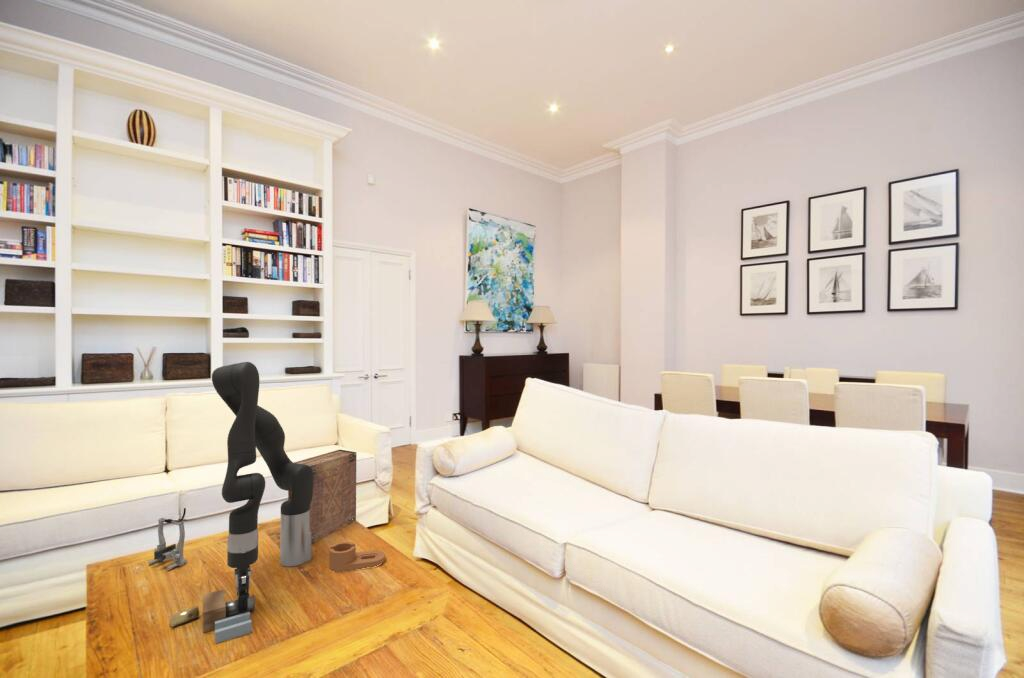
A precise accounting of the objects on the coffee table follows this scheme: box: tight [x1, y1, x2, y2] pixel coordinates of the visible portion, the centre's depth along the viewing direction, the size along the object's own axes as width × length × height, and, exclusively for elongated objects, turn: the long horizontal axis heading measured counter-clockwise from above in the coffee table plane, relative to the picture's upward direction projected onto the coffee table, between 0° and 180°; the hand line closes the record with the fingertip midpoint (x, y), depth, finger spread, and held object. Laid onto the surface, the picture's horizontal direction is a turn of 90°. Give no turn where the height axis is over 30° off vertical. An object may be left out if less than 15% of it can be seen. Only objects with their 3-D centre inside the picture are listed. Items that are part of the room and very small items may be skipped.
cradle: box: [214, 611, 253, 644], centre depth 121 cm, size 8×5×3 cm
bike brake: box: [147, 507, 188, 571], centre depth 155 cm, size 14×7×20 cm, turn 69°
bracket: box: [328, 541, 386, 573], centre depth 157 cm, size 18×8×7 cm, turn 106°
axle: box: [225, 594, 256, 618], centre depth 129 cm, size 10×4×4 cm, turn 122°
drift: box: [169, 605, 200, 628], centre depth 125 cm, size 6×3×3 cm
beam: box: [202, 589, 226, 633], centre depth 126 cm, size 5×10×5 cm, turn 34°
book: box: [287, 449, 357, 545], centre depth 181 cm, size 25×9×30 cm, turn 155°
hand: (242, 603), depth 130 cm, fingers open, 8 cm apart
